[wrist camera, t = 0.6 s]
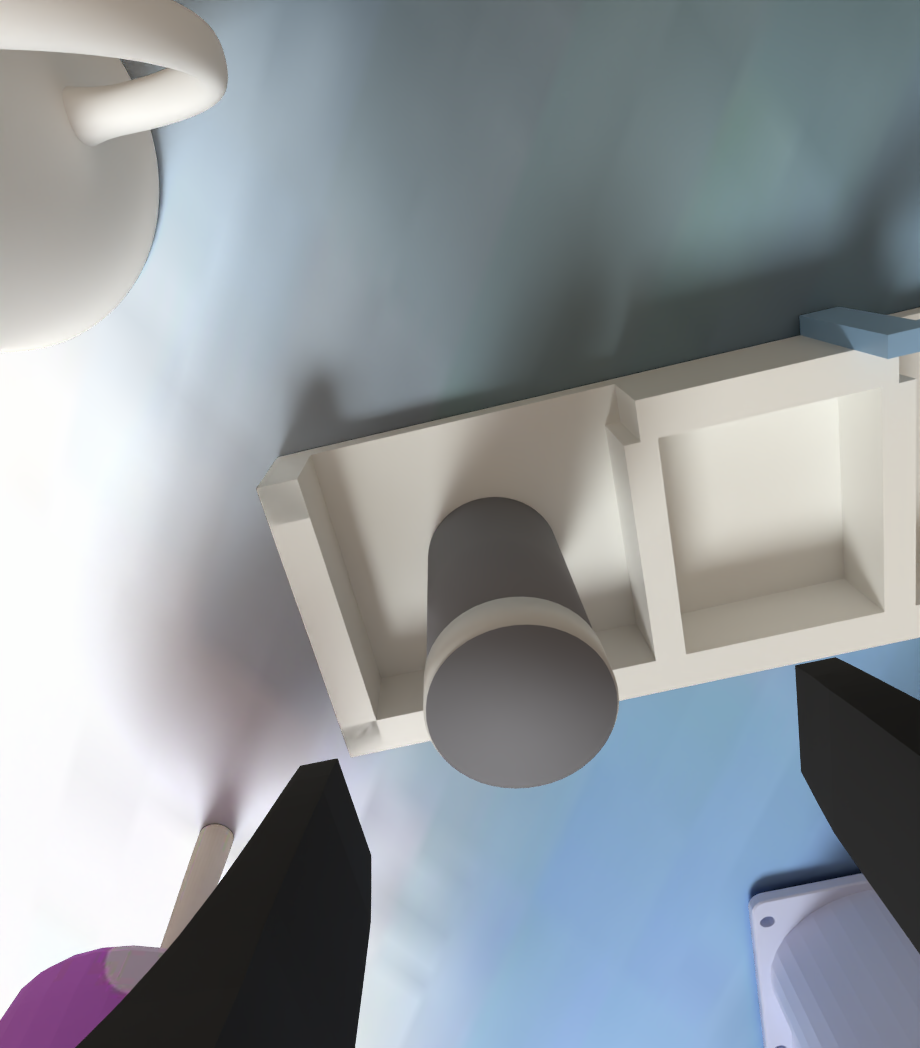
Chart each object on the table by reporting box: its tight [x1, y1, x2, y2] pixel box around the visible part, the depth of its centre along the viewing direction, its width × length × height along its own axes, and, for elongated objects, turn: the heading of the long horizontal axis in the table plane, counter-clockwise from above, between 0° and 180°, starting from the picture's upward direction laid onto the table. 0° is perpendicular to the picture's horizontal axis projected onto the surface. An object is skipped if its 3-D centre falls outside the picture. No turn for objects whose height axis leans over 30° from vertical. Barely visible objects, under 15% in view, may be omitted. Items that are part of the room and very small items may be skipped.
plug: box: [423, 497, 619, 788], centre depth 17 cm, size 4×4×7 cm
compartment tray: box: [256, 306, 920, 757], centre depth 19 cm, size 8×24×4 cm, turn 103°
